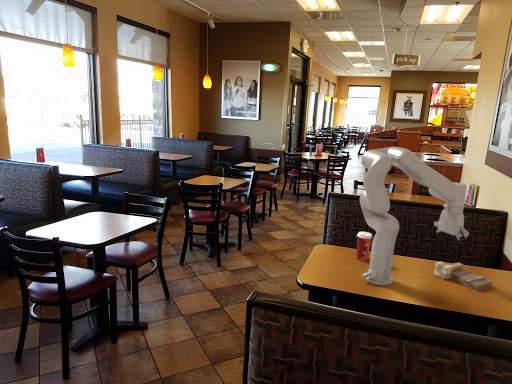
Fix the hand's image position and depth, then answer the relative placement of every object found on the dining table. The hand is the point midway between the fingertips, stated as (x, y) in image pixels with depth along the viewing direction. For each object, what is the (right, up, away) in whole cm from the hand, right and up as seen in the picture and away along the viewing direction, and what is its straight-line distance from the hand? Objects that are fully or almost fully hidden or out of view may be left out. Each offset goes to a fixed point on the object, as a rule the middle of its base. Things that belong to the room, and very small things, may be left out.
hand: (448, 244), depth 175 cm
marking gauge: (+4, -16, +6) cm, 17 cm away
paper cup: (-35, -11, +21) cm, 42 cm away
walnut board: (+8, -17, +2) cm, 19 cm away
